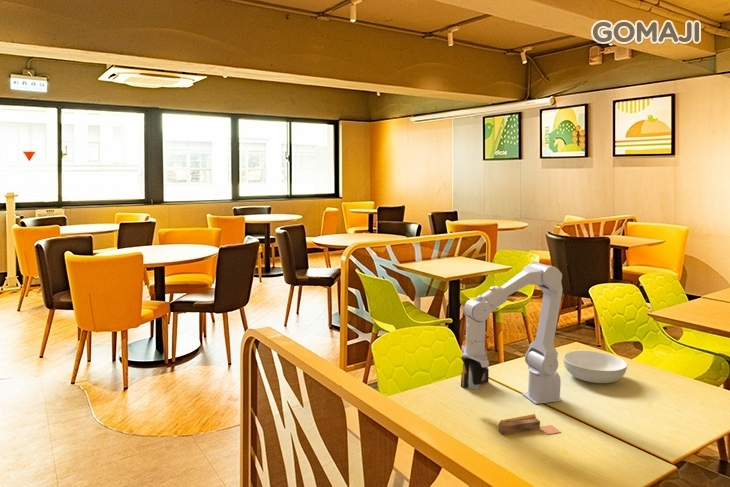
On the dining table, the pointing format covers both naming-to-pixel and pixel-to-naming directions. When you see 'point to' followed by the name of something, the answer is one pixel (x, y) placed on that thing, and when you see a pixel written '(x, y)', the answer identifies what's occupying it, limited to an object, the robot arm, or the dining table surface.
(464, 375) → the ammunition clip
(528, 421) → the bar
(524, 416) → the chocolate bar
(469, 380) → the grey-green cylindrical peg
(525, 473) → the dining table surface
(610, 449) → the dining table surface
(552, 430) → the terracotta pad
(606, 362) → the serving bowl
